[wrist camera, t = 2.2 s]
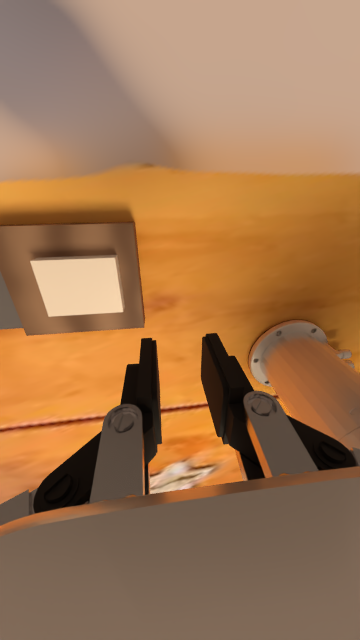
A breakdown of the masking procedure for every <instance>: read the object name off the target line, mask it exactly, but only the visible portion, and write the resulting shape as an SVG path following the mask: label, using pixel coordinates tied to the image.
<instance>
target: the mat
mask: <svg viewBox="0 0 360 640" xmlns="http://www.w3.org/2000/svg"><path fill="white" fill-rule="evenodd" d="M14 328H23V325H22V323H21V321H20V318H19V316H18V313H17V311H16V308H15V306H14V303H13V301H12V299H11V296H10V294H9V291H8V289H7V286H6V284H5V281H4V279H3V277H2V274H1V272H0V329H14Z"/></svg>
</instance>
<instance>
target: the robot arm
mask: <svg viewBox="0 0 360 640" xmlns="http://www.w3.org/2000/svg"><path fill="white" fill-rule="evenodd" d="M351 355H352V354H351V352H350V350H348V349H344V350H338V351H336V350H335V349H333V348H332V347H331V346H329V345H328V341H327V337H326V335H325V333H324V332H323V330H322V329H320V328H319V327H318V326H316V325H315V324H313V323H311V322H308V321H304V320H291V321H287V322H283V323H281V324H278V325H276V326H274V327H272V328H271V329H269V330H268V331H266V332H265V333H264V334H263V335H262V336H261V337H260V338H259V339H258V340H257V341H256V343H255V344H254V346H253V347H252V349H251V352H250V355H249V368H250V371H251V373H252V375H253V376H254V378H255V379H256V380H257V381H258V382H260V383H261V384H263V385H266V386H270V387H273V389H274V390H275V392H276V393H277V395H278V396H279V398H280V399H281V401H282V402H283V404H284V405H285V407H286V408H287V410H288V411H289V413H290V414H291V416H292V417H293V418H292V417H290V416H288V415H286V414H285V412H284V410H283V409H282V407H281V405H280V404H279V402H278V401H277V400H276V399H275V398H274V397H273V396H272V395H270V394H268V393H265V392H262V391H254V389H253V388H252V386H251V384H250V382H249V380H248V379H247V377H246V375H245V373H244V371H243V370H242V368H241V366H240V364H239V363H238V361H237V359H236V357H235V356H228V354H227V352H226V350H225V348H224V346H223V344H222V342H221V340H220V338H219V336H218V334H217V333H211V334H206V337H203V338H202V361H201V380H202V384H203V388H204V391H205V395H206V398H207V402H208V405H209V409H210V412H211V416H212V419H213V423H214V426H215V430H216V434H217V436H218V437H222V441H223V444H229V445H230V446H231V447H233V448H234V449H235V451H236V456H237V459H238V463H239V466H240V470H241V473H242V477H243V480H244V481H241V482H233V483H226V484H219V485H212V486H205V487H198V488H191V489H183V490H176V491H170V492H163V493H156V494H150V475H149V462H150V461H151V460H152V459H153V458H154V456H155V455H156V453H157V444H162V436H161V409H160V383H159V370H158V358H157V345H156V340H153V341H152V338H143V339H141V349H140V361H139V364H128V365H127V368H126V374H125V380H124V386H123V392H122V398H121V404H120V405H119V406H117V407H115V408H113V409H112V410H111V411H109V412H108V414H107V415H106V416H105V419H104V422H103V427H102V431H101V432H100V433H99V434H97V435H96V436H95V437H94V438H93V439H91V440H90V441H89V442H88V443H87V444H85V445H84V446H83V447H82V448H81V449H79V450H78V451H77V452H76V453H75V454H73V455H72V456H71V457H70V458H69V459H67V460H66V461H65V462H64V463H63V464H61V465H60V466H59V467H58V468H57V469H55V470H54V471H53V472H52V473H51V474H49V475H48V476H47V477H46V478H45V479H44V480H43V482H42V483H41V485H40V486H39V487H38V488H37V489H35V490H33V491H32V492H30V490H27V491H25V492H23V493H21V494H19V495H17V496H15V497H14V498H12V499H10V500H8V501H6V502H4V503H2V504H0V640H360V373H359V372H357V371H356V370H355V369H354V364H353V363H352V362H351V361H350V360H342V359H346V358H350V357H351Z"/></svg>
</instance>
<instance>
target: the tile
mask: <svg viewBox="0 0 360 640" xmlns="http://www.w3.org/2000/svg"><path fill="white" fill-rule="evenodd" d="M30 263H31V266H32V269H33V272H34V274H35V277H36V280H37V283H38V286H39V289H40V292H41V295H42V298H43V301H44V304H45V307H46V310H47V313H48V316H49V317H52V316H68V315H84V314H101V313H117V312H123V311H124V308H125V305H124V298H123V291H122V284H121V278H120V271H119V264H118V257H117V255H100V256H73V257H46V258H36V259H33V260H31V261H30Z"/></svg>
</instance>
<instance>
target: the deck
mask: <svg viewBox="0 0 360 640" xmlns="http://www.w3.org/2000/svg"><path fill="white" fill-rule="evenodd" d="M100 255H117V257H118V264H119V271H120V278H121V284H122V291H123V298H124V305H125V308H124V311H123V312H117V313H101V314H84V315H68V316H52V317H49V316H48V313H47V310H46V307H45V304H44V301H43V298H42V295H41V292H40V289H39V286H38V283H37V280H36V277H35V274H34V272H33V269H32V266H31V263H30V261H31V260H33V259H36V258H46V257H73V256H100ZM0 272H1V274H2V277H3V279H4V281H5V284H6V286H7V289H8V291H9V294H10V296H11V299H12V301H13V303H14V306H15V308H16V311H17V313H18V316H19V318H20V321H21V323H22V325H23V328H24V330H25V333H26V335H27V336H28V335H43V334H57V333H72V332H86V331H101V330H116V329H130V328H144V323H145V315H144V306H143V296H142V286H141V277H140V267H139V258H138V248H137V238H136V229H135V222H114V223H71V224H29V225H0Z"/></svg>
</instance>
